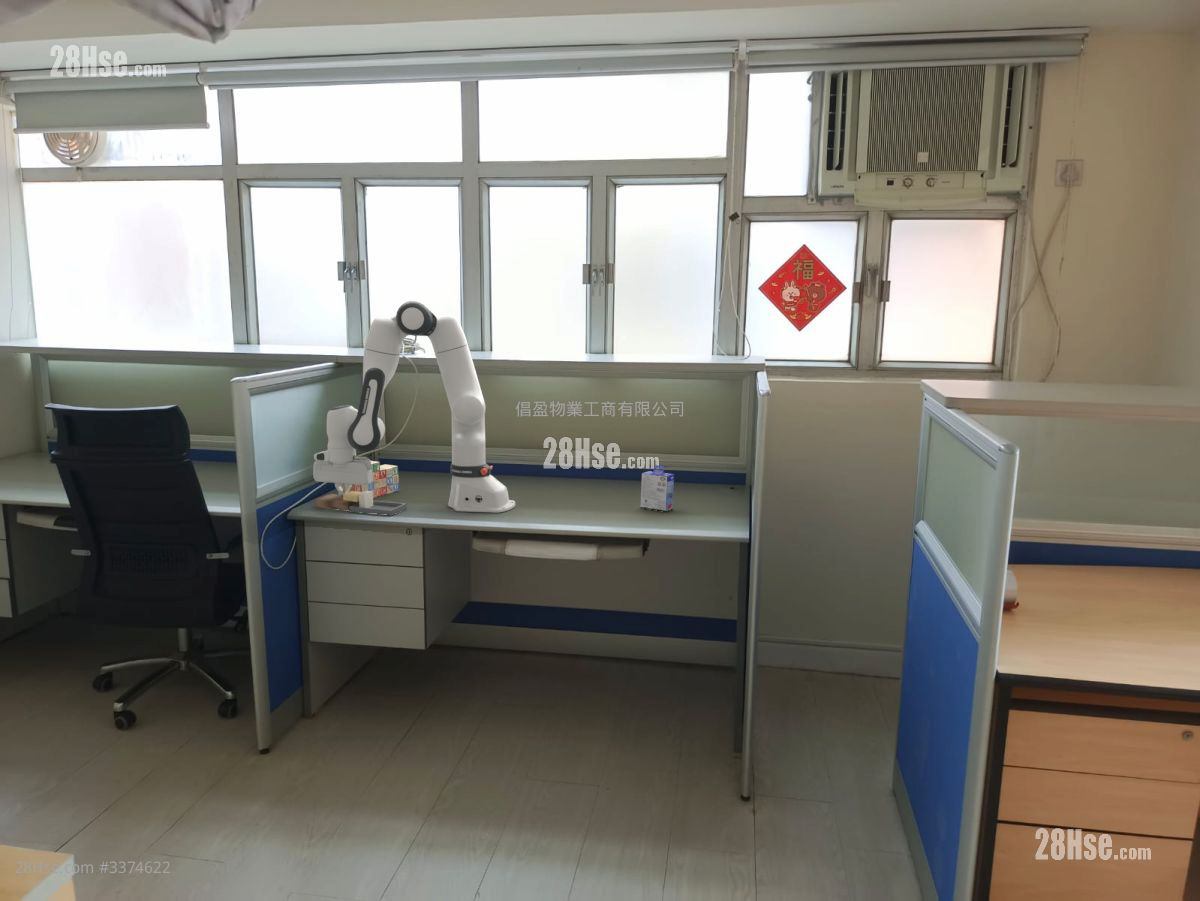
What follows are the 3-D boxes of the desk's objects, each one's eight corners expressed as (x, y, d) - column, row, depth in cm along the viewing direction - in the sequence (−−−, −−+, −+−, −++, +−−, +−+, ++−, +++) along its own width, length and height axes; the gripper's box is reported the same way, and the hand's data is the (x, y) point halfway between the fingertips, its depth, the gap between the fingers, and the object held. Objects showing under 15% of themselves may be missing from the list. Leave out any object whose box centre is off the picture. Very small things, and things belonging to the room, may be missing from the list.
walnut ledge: (362, 505, 269) (361, 496, 269) (348, 511, 262) (348, 502, 261) (330, 502, 272) (329, 493, 272) (316, 508, 265) (315, 499, 264)
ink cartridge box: (673, 509, 272) (675, 467, 269) (666, 512, 267) (667, 469, 264) (647, 505, 277) (648, 463, 274) (640, 508, 272) (641, 466, 270)
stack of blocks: (386, 489, 294) (385, 455, 292) (399, 491, 291) (398, 457, 289) (341, 501, 275) (340, 465, 273) (355, 503, 272) (353, 467, 270)
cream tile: (368, 505, 267) (373, 505, 266) (359, 509, 262) (365, 509, 261) (367, 490, 266) (372, 491, 265) (358, 494, 261) (364, 494, 261)
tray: (406, 508, 266) (406, 503, 266) (391, 516, 256) (391, 510, 256) (366, 505, 270) (366, 499, 269) (349, 512, 260) (349, 506, 260)
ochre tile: (365, 498, 267) (365, 492, 266) (356, 501, 262) (356, 495, 261) (351, 496, 268) (351, 490, 267) (343, 500, 263) (343, 494, 263)
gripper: (375, 455, 264) (377, 496, 266) (320, 451, 269) (322, 491, 272) (365, 458, 258) (366, 501, 260) (309, 454, 263) (311, 496, 266)
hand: (343, 496), depth 266 cm, fingers closed
